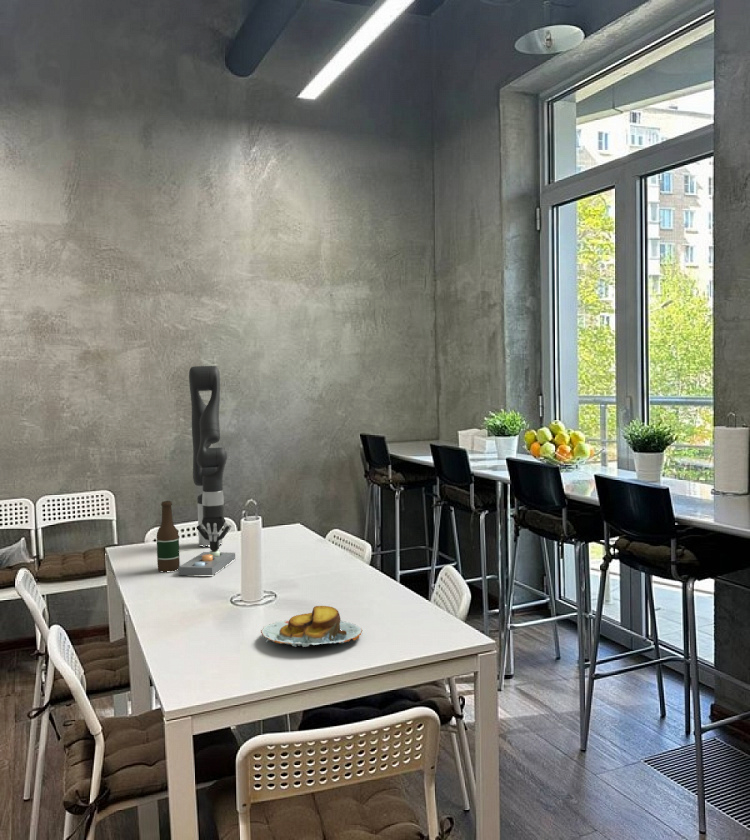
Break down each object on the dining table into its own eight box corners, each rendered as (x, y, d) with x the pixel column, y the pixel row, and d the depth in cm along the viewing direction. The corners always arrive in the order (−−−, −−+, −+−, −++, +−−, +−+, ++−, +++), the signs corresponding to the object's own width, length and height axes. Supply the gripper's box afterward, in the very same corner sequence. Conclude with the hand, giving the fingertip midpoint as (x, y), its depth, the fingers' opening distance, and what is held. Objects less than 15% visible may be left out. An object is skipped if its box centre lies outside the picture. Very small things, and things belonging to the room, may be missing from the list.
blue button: (196, 570, 264) (196, 561, 264) (206, 570, 263) (206, 561, 263) (192, 572, 260) (192, 564, 260) (202, 573, 260) (202, 564, 260)
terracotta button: (204, 562, 271) (204, 554, 271) (214, 562, 270) (214, 554, 270) (200, 565, 267) (200, 556, 267) (210, 565, 267) (210, 556, 266)
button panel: (203, 560, 281) (203, 552, 281) (235, 560, 279) (235, 552, 279) (178, 575, 259) (178, 567, 259) (212, 576, 257) (212, 567, 257)
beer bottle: (176, 572, 263) (174, 503, 262) (154, 572, 263) (151, 503, 262) (182, 567, 271) (180, 499, 270) (161, 567, 271) (158, 500, 270)
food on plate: (244, 637, 197) (243, 612, 196) (324, 617, 212) (323, 594, 212) (297, 665, 177) (296, 637, 176) (381, 641, 192) (381, 615, 192)
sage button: (211, 558, 278) (211, 549, 277) (221, 558, 277) (221, 550, 277) (208, 560, 274) (207, 552, 274) (217, 560, 273) (217, 552, 273)
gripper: (234, 501, 277) (235, 549, 278) (199, 501, 279) (201, 548, 280) (227, 505, 270) (228, 553, 270) (191, 504, 272) (193, 553, 273)
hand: (214, 551), depth 275 cm, fingers closed
